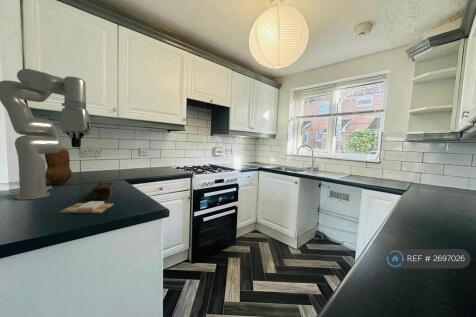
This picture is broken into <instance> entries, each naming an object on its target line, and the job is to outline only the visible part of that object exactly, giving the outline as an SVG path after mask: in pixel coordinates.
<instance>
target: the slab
mask: <svg viewBox="0 0 476 317" xmlns="http://www.w3.org/2000/svg"><path fill="white" fill-rule="evenodd" d="M85 203H86V204H84V205H81V206H79V207H77V212H94V211H96V210H98V209H99V208H101V207H103V206H104V203H105V200H99V201H92V200H91V201H88V202H85Z"/></svg>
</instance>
